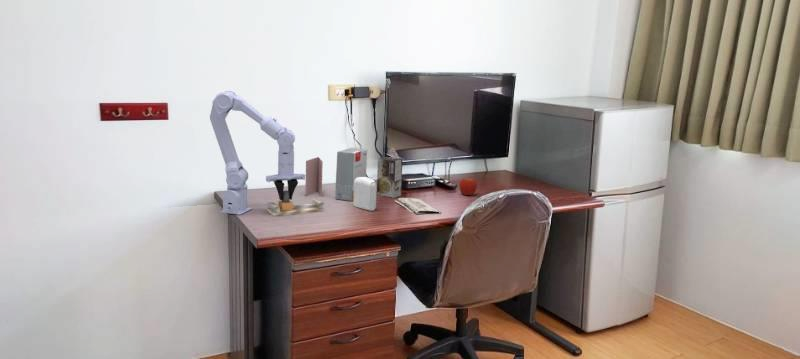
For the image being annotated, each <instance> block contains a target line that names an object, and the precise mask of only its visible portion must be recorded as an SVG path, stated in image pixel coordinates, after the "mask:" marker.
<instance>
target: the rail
mask: <svg viewBox="0 0 800 359" xmlns="http://www.w3.org/2000/svg"><path fill="white" fill-rule="evenodd" d="M281 209H282V207H280V206H279V205H278V204H277V203H276V202H274V201H268V202H267V211H266V212H267V213H269V215H271V216H273V217H279V216H289V215H299V214H301V215H302V214H310V213H311V214H313V213H320V212H322V213H323V212H325V202H324V201H322V200H320V199H319V198H311V203H308V204H307V203H306V204H299V205H298V204H297V205H293V207H292V210H285V211H282V210H281Z"/></svg>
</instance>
